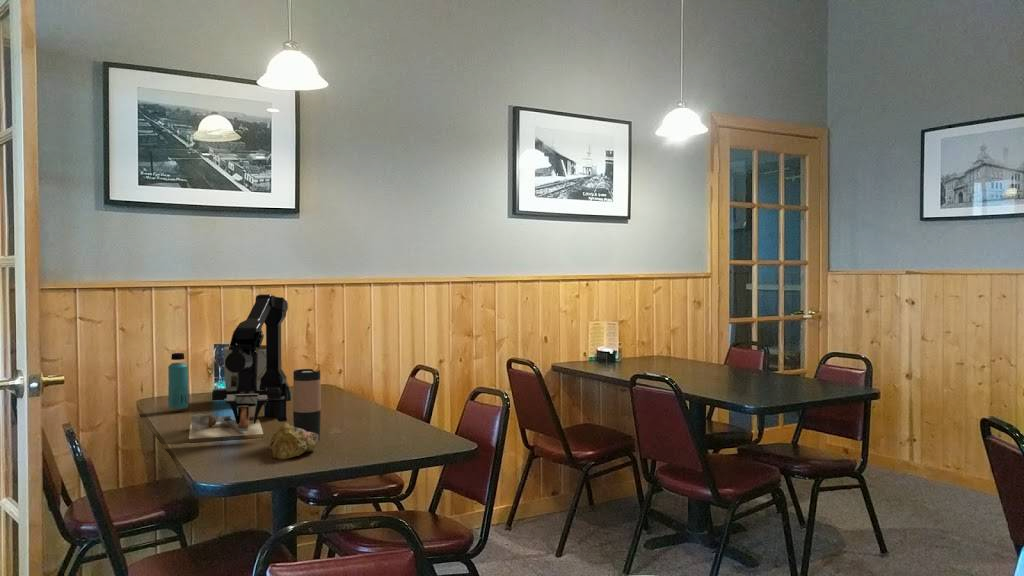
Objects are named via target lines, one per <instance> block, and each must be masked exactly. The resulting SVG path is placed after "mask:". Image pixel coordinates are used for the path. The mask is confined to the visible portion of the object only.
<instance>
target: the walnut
mask: <svg viewBox="0 0 1024 576" xmlns="http://www.w3.org/2000/svg"><path fill="white" fill-rule="evenodd" d="M208 415H209V427H212V426H214V425H215V424H216V422H217V418H216V416H215V415H213V414H208Z"/></svg>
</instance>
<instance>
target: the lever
mask: <svg viewBox="0 0 1024 576" xmlns="http://www.w3.org/2000/svg"><path fill="white" fill-rule="evenodd" d="M237 411H238V424H237V423H236V420H235V419H233V418H232V417H231V416H230V415H229V416H227V415H226V416H225V415H224V416H217V422H221V423H223V424H225V425H227V426H229V427H231V428H233V429H235V430H237V431H239V432H242V431H248V427H249V420H250V406H249V405H237Z"/></svg>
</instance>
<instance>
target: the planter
mask: <svg viewBox="0 0 1024 576" xmlns="http://www.w3.org/2000/svg"><path fill="white" fill-rule="evenodd" d="M258 350H259V353H258V381H257V390H259V387H260V383H261V377H262V376H263V375H264V373H265V372H266V344H261V346H260V348H259V349H258ZM230 353H232V350H229V346H225V347H223V348H222V354H223V357H222V358H223V370H224V371H223V372H224V383H225V385H224V388H227V391H236V388H231V376H237V373H233V372H230V371H229V370H228V369H227V368H226V366H225V360H226V358H227V356H228V355H229V354H230ZM240 393H241V392H240ZM256 398H257V397H236V403H237V404H239V405H240V404H241V405H242V404H244V405H245V404H246V405H256ZM227 404H228V405H230V404H229V403H227ZM264 404H266V402H264Z"/></svg>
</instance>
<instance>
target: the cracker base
mask: <svg viewBox="0 0 1024 576" xmlns="http://www.w3.org/2000/svg"><path fill="white" fill-rule="evenodd" d="M209 415H210V414H203V413H197V414H191V423H190V426H189V433H188V435H189V436H188V439H189V440H196V439H210V438H224V437H239V436H240V437H241V436H254V435H264V432H263V428H262V425H261V421H260V419H257V420H256V423H255V424H254V419H251V420H250V419H249V427H248V431H242V432H239V431H237V430H235V429H233V428H231V427H229V426H227V425H225V424H223V423H221V422H219V421H216V424H215V425H214V426H212V427H209ZM251 439H252V440H253V439H264V436H261V437H248V438H246V437H245V438H243V440H251ZM237 440H240V441H241V440H242V438H233V439H232V438H231V439H217V440H216V439H215V440H202V441H188V444H195V443H209V442H211V443H212V442H224V441H225V442H226V441H237Z"/></svg>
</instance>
